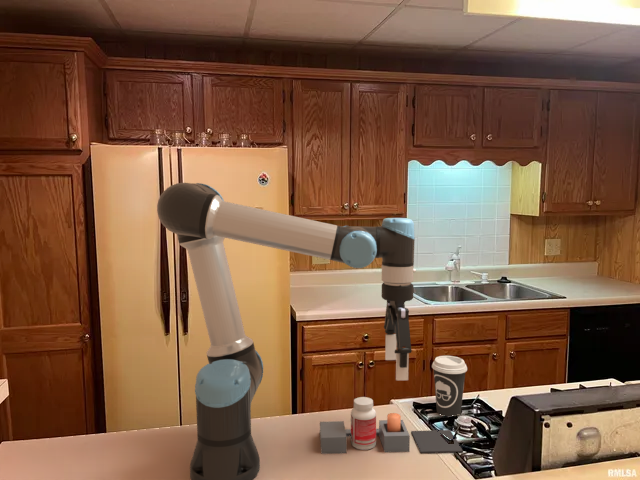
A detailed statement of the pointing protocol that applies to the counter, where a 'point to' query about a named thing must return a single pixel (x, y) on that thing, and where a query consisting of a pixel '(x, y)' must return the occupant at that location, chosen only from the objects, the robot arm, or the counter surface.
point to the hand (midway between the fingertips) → (396, 369)
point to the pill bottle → (363, 424)
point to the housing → (336, 433)
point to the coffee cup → (449, 384)
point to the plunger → (393, 422)
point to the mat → (435, 442)
